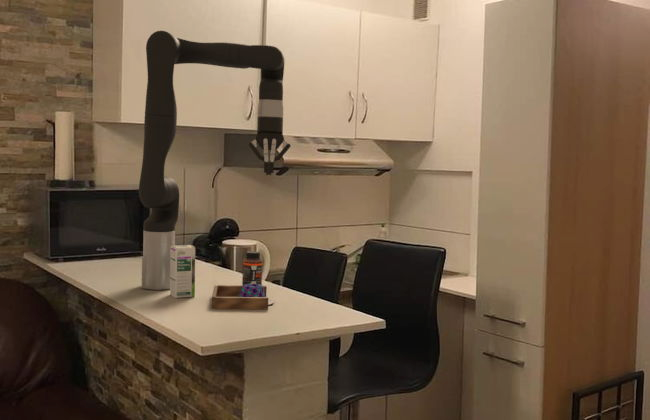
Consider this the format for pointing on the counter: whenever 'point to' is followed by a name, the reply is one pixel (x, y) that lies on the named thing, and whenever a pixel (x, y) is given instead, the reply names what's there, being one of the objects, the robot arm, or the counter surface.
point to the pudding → (253, 291)
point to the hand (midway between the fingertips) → (268, 174)
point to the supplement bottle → (252, 268)
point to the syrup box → (182, 271)
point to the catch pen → (236, 298)
